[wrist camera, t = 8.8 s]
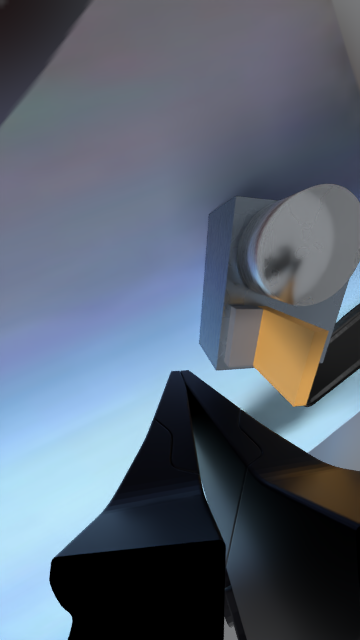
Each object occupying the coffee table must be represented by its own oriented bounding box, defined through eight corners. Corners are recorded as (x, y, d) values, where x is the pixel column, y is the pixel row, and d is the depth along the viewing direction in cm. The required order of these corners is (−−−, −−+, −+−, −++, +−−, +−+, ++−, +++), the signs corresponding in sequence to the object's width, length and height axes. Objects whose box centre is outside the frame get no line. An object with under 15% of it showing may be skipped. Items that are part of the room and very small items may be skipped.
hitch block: (283, 339, 21) (322, 363, 17) (199, 343, 20) (216, 370, 15) (310, 222, 18) (370, 210, 13) (209, 214, 16) (236, 196, 11)
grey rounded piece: (272, 288, 18) (345, 305, 11) (212, 287, 17) (255, 306, 10) (285, 217, 16) (382, 190, 9) (219, 211, 15) (277, 176, 8)
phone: (401, 335, 23) (306, 410, 25) (391, 331, 24) (300, 403, 26) (385, 288, 21) (279, 376, 22) (373, 287, 22) (273, 370, 23)
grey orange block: (256, 359, 15) (305, 405, 11) (224, 361, 15) (260, 410, 10) (266, 306, 14) (328, 331, 9) (231, 306, 13) (277, 332, 9)
